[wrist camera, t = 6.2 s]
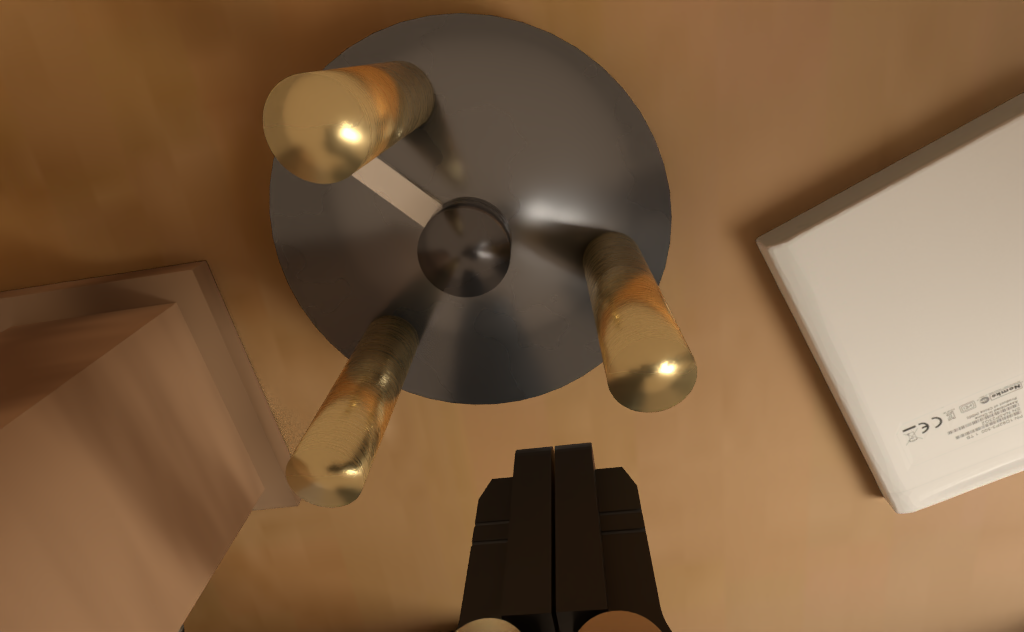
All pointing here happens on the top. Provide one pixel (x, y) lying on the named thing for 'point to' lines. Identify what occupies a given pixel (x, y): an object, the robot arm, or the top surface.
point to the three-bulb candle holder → (468, 230)
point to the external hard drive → (921, 309)
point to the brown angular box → (125, 450)
